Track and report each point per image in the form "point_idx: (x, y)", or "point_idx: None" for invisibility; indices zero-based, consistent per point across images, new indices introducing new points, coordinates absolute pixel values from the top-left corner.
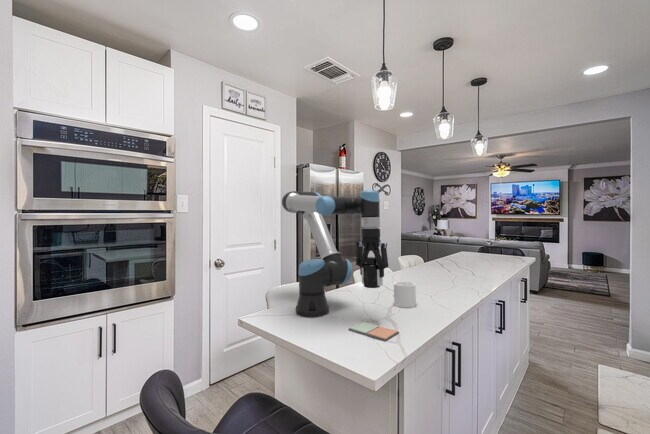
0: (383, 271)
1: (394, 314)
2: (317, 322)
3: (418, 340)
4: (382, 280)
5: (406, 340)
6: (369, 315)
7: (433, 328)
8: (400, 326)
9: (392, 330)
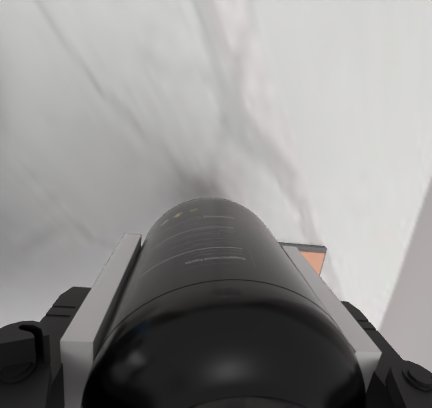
0: (389, 358)
1: (246, 56)
2: (36, 312)
3: (386, 263)
4: (310, 265)
5: (356, 281)
6: (154, 135)
7: (422, 142)
8: (312, 188)
9: (307, 257)
